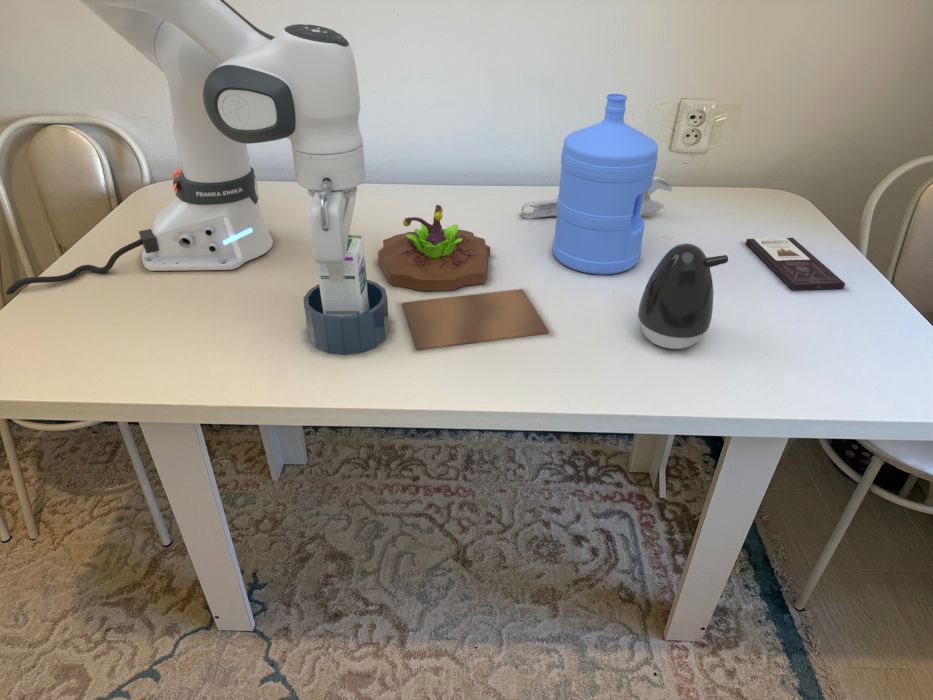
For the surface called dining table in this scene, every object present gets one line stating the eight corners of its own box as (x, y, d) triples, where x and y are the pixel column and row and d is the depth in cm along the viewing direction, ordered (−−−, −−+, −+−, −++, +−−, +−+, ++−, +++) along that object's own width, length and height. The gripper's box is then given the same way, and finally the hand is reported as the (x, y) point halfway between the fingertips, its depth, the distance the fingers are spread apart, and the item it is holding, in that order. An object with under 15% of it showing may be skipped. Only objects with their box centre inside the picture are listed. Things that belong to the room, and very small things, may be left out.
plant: (381, 295, 108) (377, 232, 102) (376, 244, 124) (372, 186, 117) (502, 288, 110) (505, 225, 104) (482, 238, 126) (483, 181, 120)
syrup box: (366, 342, 97) (357, 252, 88) (325, 342, 97) (313, 251, 88) (371, 322, 101) (364, 234, 93) (333, 321, 101) (322, 233, 93)
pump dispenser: (706, 364, 93) (732, 267, 84) (631, 352, 95) (649, 256, 87) (705, 326, 101) (729, 235, 93) (636, 316, 103) (652, 226, 95)
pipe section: (310, 359, 93) (305, 323, 90) (307, 316, 102) (302, 282, 99) (394, 348, 95) (392, 313, 92) (383, 307, 105) (380, 274, 101)
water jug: (568, 280, 113) (587, 111, 97) (541, 241, 126) (554, 86, 110) (653, 272, 116) (685, 107, 100) (618, 235, 128) (642, 82, 112)
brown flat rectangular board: (416, 350, 95) (416, 347, 95) (402, 305, 106) (402, 302, 105) (548, 333, 99) (548, 330, 99) (522, 291, 110) (522, 289, 109)
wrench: (522, 228, 137) (667, 212, 136) (523, 231, 136) (670, 215, 135) (519, 191, 133) (670, 174, 132) (520, 194, 131) (672, 177, 130)
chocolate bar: (793, 285, 110) (746, 238, 125) (792, 290, 111) (745, 243, 125) (845, 283, 111) (792, 237, 126) (843, 288, 111) (791, 242, 126)
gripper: (348, 196, 76) (358, 300, 84) (360, 142, 93) (367, 233, 101) (293, 197, 76) (307, 302, 84) (314, 142, 93) (325, 234, 100)
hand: (340, 263), depth 92 cm, fingers open, 8 cm apart
